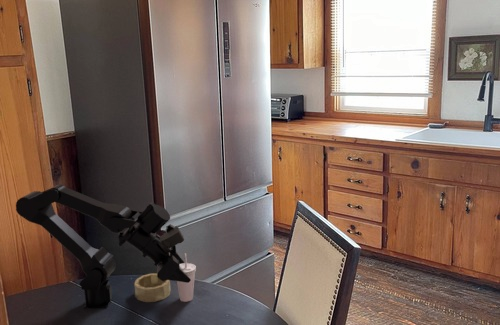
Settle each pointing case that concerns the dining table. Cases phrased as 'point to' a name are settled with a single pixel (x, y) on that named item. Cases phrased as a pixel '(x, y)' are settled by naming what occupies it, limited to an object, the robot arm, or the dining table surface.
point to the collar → (151, 288)
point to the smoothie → (184, 287)
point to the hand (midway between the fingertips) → (188, 274)
